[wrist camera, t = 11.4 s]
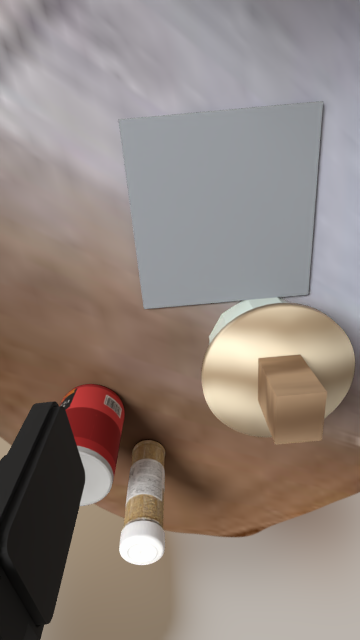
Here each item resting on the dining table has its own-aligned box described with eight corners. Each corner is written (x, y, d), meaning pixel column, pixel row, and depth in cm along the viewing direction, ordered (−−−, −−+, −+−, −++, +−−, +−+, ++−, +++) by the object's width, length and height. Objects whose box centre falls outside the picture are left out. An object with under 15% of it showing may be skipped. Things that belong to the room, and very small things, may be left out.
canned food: (64, 377, 41) (30, 444, 31) (130, 387, 42) (118, 456, 32) (59, 426, 44) (27, 502, 34) (121, 434, 45) (107, 511, 35)
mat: (119, 120, 30) (118, 119, 30) (320, 102, 30) (323, 101, 30) (144, 307, 37) (143, 309, 37) (306, 292, 37) (308, 294, 37)
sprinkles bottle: (154, 468, 47) (149, 572, 35) (125, 455, 46) (110, 558, 34) (171, 446, 46) (173, 547, 34) (142, 432, 45) (133, 532, 32)
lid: (196, 310, 31) (204, 347, 25) (358, 295, 31) (408, 329, 25) (205, 435, 37) (213, 491, 31) (340, 423, 37) (377, 477, 31)
